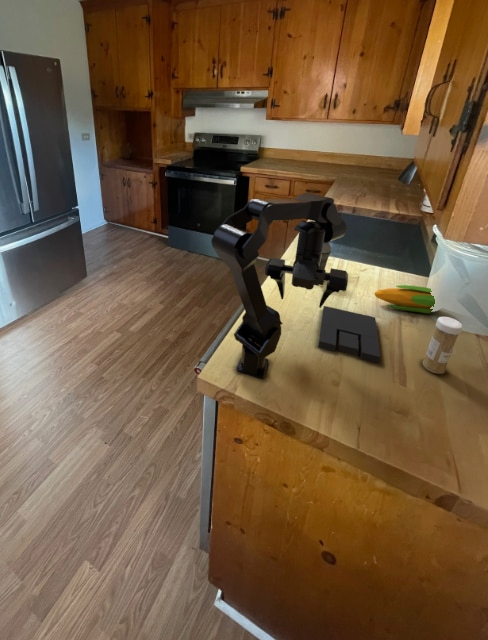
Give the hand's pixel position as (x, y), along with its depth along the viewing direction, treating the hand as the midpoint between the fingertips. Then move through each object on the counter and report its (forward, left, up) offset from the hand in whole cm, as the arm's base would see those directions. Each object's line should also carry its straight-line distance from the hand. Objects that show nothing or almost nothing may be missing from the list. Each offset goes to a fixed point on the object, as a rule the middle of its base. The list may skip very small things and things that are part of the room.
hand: (300, 302), depth 84 cm
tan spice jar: (+4, -32, -12) cm, 34 cm away
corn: (+31, -30, -12) cm, 45 cm away
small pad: (+4, -13, -12) cm, 18 cm away
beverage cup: (+39, -2, -12) cm, 41 cm away
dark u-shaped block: (+9, -13, -12) cm, 20 cm away
